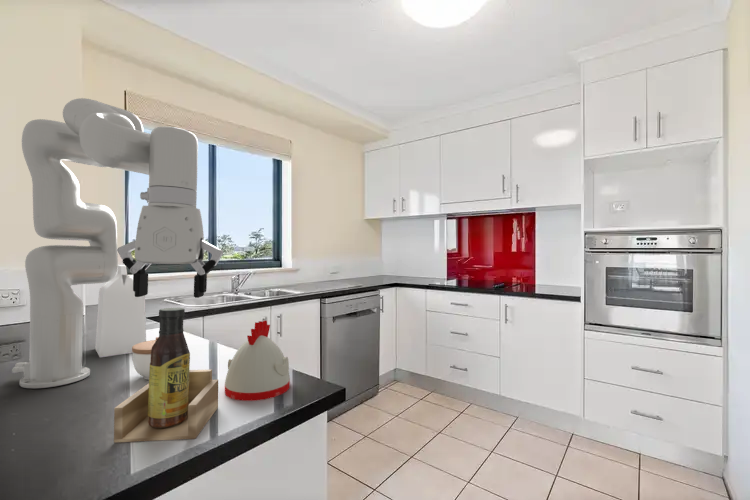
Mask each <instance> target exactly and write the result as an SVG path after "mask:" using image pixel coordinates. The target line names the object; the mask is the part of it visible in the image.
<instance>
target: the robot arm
mask: <svg viewBox="0 0 750 500" xmlns="http://www.w3.org/2000/svg"><path fill="white" fill-rule="evenodd" d="M62 119H63V121H64V122H61V121H59V120H58V121H57V120H51V119H41V118H39V119H32V120H30V121H28V122H27V123H26V124H25V126H24V127H23V130H22V133H21V135H22V136H21V150H22V154H23V158H24V160H25V164H26V166H27V168H28V171H29V174H30V176H31V177H30V178H31V183H32V216H33V217H32V218H33V220H32V221H33V227H34V231H35V233H36V234H37V235H38V236H39V237H40V238H44V239H48V240H59V241H60V240H62V241H64V240H65V241H85V242H86V241H87V242H88V243H89V245H70V244H69V245H66V244H65V245H62V244H57V245H56V244H51V245H49V244H48V245H44V246H38V247H35V248H34V249H31V251H29V252H28V254H27V255H26V256H25V261H24V264H25V265H24V267H25V272H26V278H27V282H28V283H27V284H28V288H29V289H28V290H29V351H28V352H29V357H28V359H29V360H28V362H27V361H25V362H23V361H21V362H16V363H15V365H14V367H13V368H12V369H11V373H12V374H21V373H22V374H23V377H21V379H20V380H19V386H20V387H21V388H24V389H46V388H53V387H59V386H64V385H69V384H72V383H75V382H79V381H82V380H83V379H86V378H87V377H90V375H91V369H90V368H89V367H86V366H83V348H84V347H83V339H84V336H83V334H84V329H83V328H84V303H83V299H82V298H81V297H80V296H79V294H77V292H75V291H74V289H73V288H72V286H78V285H91V284H92V285H93V284H94V285H95V284H105V283H107V282H108V281H111V280H112V279H113V278H114V277H115V275H117V272H118V265H119V263H118V261H119V259H118V257H120V258H121V260H122V265H125V266H126V269H129V273H131V274H132V276H133V291H134V292H135V297H141V296H145V297H146V296H147V295H148V293H149V292H148V291H149V273H148V272H146V270H147V269H148V268H149V267H150V266H151V265H153V264H158V265H159V264H160V265H161V264H162V265H164V264H165V265H190V266H191V267H192V268H193V270H195V272H196V274H195V275H194V276H193V298H195V299H199V298H201V297H203V296H205V295H204V293H206V292H207V287H208V286H207V284H208V274H210V273H211V271H212V270H213V269H215V267H217V266H218V264H219V261H220V260H221V259H222V256H223V255H224V251H223V249H221V248H219V247H216V246H215V245H213V244H211V243H209V242H208V241H206V240H205V238H204V237H205V236H204V226H203V219H202V214H201V210H200V208H198V207H197V196H198V195H197V193H198V192H197V191H198V166H199V165H198V158H199V156H198V155H199V141H198V138H197V136H196V135H195V134H194V133H193V132H191V131H189V130H187V129H184V128H179V127H175V126H168V125H167V126H157V127H155V128H154V129H152V130H151V132H150V133H149V132H145V131H144V126H143V124H142V121H141V119H140V118H139V117H138V116H137V115H136V114H135V113H133V112H131V111H129V110H126V109H123V108H120V107H117V106H113V105H112V104H111V105H110V104H107V103H104V102H102V101H98V100H95V99H91V98H83V97H81V98H79V97H78V98H74V99H71V100H70V101H68V102H67V103H66V104H65V105H64V106H63V109H62ZM62 161H66V162H72V163H75V164H76V163H77V164H82V165H88V166H93V167H97V168H98V167H100V168H111V169H116V170H119V171H120V170H122V171H128V172H131V173H138V174H143V175H148V187H147V188H146V189H147V191H144V192H143V191H141V192H140V194H139V198H140V199H141V200H144V201H146V203H147V205H142V207H141V210H140V214H139V218H138V222H137V228H136V235H135V240H132V241H130V242H128V243H126V244H124V245H121V246H119V247H118V231H117V230H118V227H117V226H118V225H117V219H116V216H115V214H114V212H113V211H112V209H111V208H110V207H108V206H106V205H103V204H99V203H92V202H83V201H82V200H81V198H80V183H79V180H78V179H77V177H76V175H75V174H74V173H73V171H72V170H71V169H70V168H69V167H68V166H67V165H66V164H65V163H64V162H62ZM133 251H134V258H133V256H132V252H133ZM205 251H206V252H208V253H210V254H211V257H210V259H209V260H208V261H207V262H206V263H205V262H204V261H203V260H204V255H205ZM118 255H119V256H118Z"/></svg>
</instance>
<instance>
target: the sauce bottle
mask: <svg viewBox="0 0 750 500" xmlns="http://www.w3.org/2000/svg"><path fill="white" fill-rule="evenodd" d="M185 311H186V309H185V308H183V307H168V308H167V307H166V308H160V309H159V310H158V317H159V331H158V339H157V340H156V339H155V340H156V342H155V343H154V345H153V346H152V349H151V363H150V371H149V380H148V383H149V396H148V416H149V420H148V423H149V425H150V426H151V427H154V428H165V427H170V426H174V425H177V424H179V423H182V422H183V421H184V420H185V418H186V416H187V410H188V398H189V370H190V367H191V366H190V365H191V364H190V362H191V353H190V350H189V346H188V343H187V340H186V337H185V334H184V318H185V316H186V314H185V313H186V312H185Z"/></svg>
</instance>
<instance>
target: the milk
mask: <svg viewBox="0 0 750 500" xmlns="http://www.w3.org/2000/svg"><path fill="white" fill-rule="evenodd" d="M127 269H128V268H127V267H126V266H125V265H124V264H118V267H117V272H116V275H115V277H114V278H113V279H112V280H111V281H108V282H105V283H103V284H102V286H101V287H100V288H99V290H98V301H97V317H96V332H95V344H94V345H95V347H94V350H95V352H97V355H98V357H99V358H105V357H112V356H119V355H126V354H131V353H132V354H133V352H132V347H133V346H134V345H136V344H138V343H141V342H145V341H147V321H146V319H147V318H146V317H147V316H146V295H145V296H141V297H135V292H134V291H133V275H130V276H129V275H128V270H127Z"/></svg>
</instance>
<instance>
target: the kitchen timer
mask: <svg viewBox="0 0 750 500" xmlns="http://www.w3.org/2000/svg"><path fill="white" fill-rule="evenodd" d="M270 327H271V324H268V320H262V321H258V322H254V328H250V333H251V335H247V340H245V341H244V342H243V343H242V345H240V347H239V348H238V349H237V350H236V352H235V354H234V355H233V357H232V359H230V358H229V359H228V362H227V373H226V376H225V380H224V394H225V397H228V398H229V399H233V400H235V401H236V400H237V401H244V402H245V401H246V402H247V401H251V402H252V401H263V400H267V399H272V398H275V397H278V396H280V395H283V394H285V393H286V392H287V391H288V390H289V389H290V383H291V381H290V380H291V377H290V366H289V365H290V364H289V363H290V362H289V358H288V356H285V355H284V353H283V352H282V350H281V348H280V347H279V345H277V344H276V343H275V342H274V340H272V339H271V338H269V332H270Z"/></svg>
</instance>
